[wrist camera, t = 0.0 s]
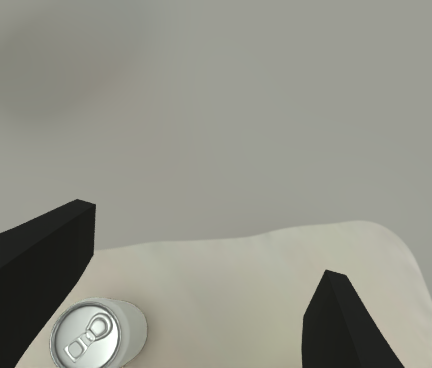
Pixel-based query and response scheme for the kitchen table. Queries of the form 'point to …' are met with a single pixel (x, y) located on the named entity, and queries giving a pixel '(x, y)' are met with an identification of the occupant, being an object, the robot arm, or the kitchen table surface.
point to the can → (98, 334)
